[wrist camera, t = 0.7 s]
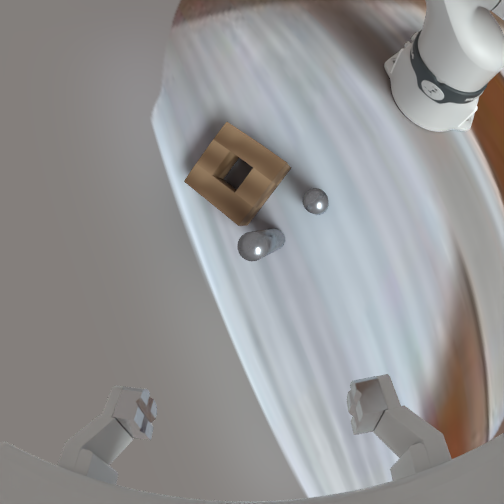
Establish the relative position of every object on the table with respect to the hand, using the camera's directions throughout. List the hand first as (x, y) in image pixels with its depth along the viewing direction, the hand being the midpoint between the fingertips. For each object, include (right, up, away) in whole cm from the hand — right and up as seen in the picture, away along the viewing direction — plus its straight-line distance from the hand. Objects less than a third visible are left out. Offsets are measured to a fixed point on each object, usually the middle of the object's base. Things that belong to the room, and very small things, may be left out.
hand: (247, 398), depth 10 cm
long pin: (+4, +8, +38) cm, 39 cm away
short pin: (+11, +13, +36) cm, 39 cm away
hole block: (-2, +19, +38) cm, 43 cm away
